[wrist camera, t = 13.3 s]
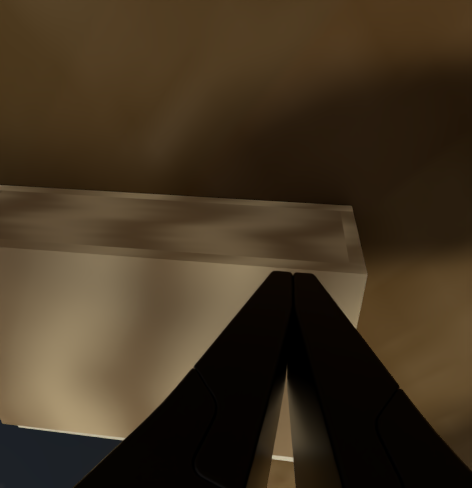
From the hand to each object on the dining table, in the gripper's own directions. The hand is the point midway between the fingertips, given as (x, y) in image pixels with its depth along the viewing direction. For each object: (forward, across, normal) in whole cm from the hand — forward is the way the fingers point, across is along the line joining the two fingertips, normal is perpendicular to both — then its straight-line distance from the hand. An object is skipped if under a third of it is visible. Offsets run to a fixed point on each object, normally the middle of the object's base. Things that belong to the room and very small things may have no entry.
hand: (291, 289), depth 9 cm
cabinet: (+12, +6, +10) cm, 17 cm away
